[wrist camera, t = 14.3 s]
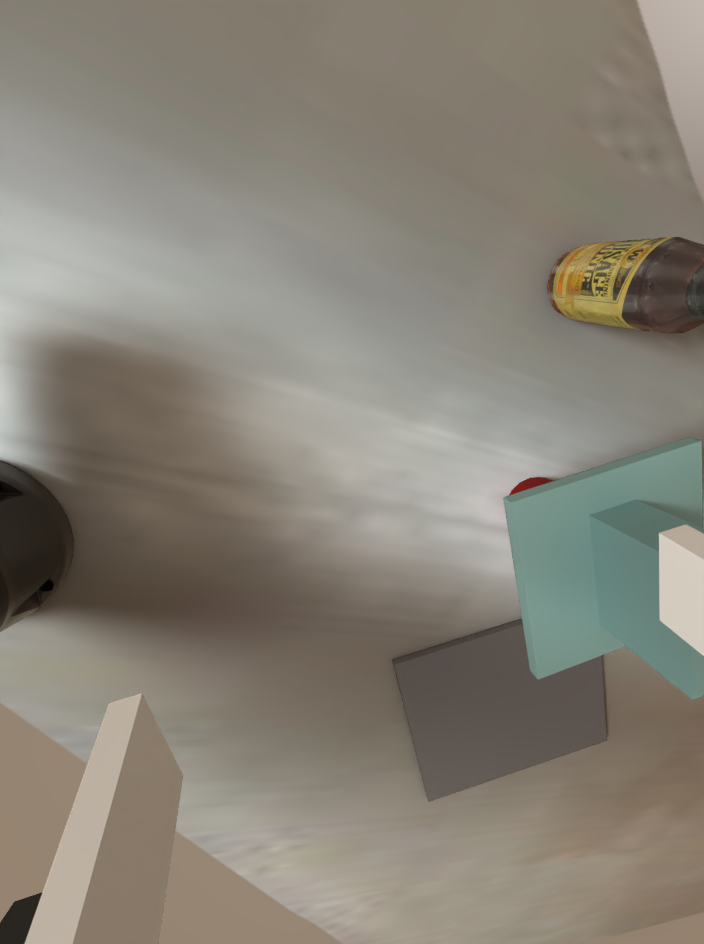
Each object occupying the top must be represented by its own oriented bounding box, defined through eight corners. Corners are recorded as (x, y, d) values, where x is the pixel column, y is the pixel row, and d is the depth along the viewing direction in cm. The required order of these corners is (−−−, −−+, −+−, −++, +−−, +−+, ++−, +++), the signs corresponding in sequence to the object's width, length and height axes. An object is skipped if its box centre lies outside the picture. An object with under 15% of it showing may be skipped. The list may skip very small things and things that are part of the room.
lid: (530, 670, 43) (615, 768, 34) (503, 497, 38) (594, 554, 29) (693, 608, 45) (817, 684, 36) (688, 437, 40) (830, 471, 31)
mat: (426, 795, 64) (428, 801, 64) (392, 659, 56) (394, 664, 56) (602, 735, 66) (606, 740, 66) (593, 595, 58) (598, 599, 58)
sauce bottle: (579, 229, 45) (808, 187, 26) (619, 280, 47) (857, 275, 28) (526, 289, 45) (712, 289, 27) (568, 337, 48) (766, 367, 29)
